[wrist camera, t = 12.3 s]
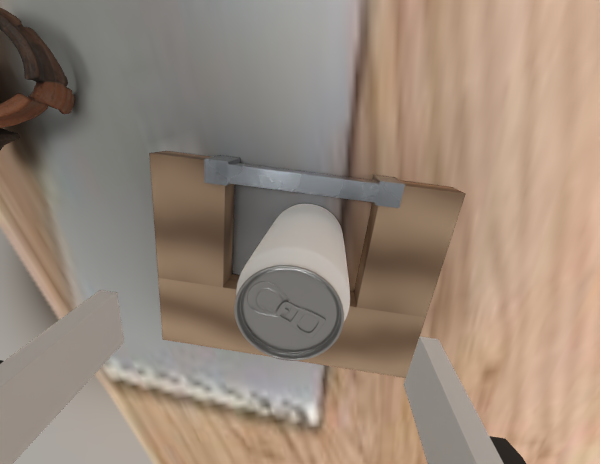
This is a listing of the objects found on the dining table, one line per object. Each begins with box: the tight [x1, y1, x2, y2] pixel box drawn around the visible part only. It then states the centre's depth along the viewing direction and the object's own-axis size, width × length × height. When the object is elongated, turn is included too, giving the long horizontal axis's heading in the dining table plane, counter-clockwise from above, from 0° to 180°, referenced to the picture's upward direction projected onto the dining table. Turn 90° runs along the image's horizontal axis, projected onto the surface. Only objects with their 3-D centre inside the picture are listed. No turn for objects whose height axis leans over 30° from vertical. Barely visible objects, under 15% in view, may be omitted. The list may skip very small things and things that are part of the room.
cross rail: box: [204, 155, 405, 208], centre depth 22 cm, size 2×15×3 cm, turn 83°
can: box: [234, 204, 350, 361], centre depth 20 cm, size 6×6×12 cm
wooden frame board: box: [149, 151, 465, 378], centre depth 26 cm, size 18×24×2 cm
